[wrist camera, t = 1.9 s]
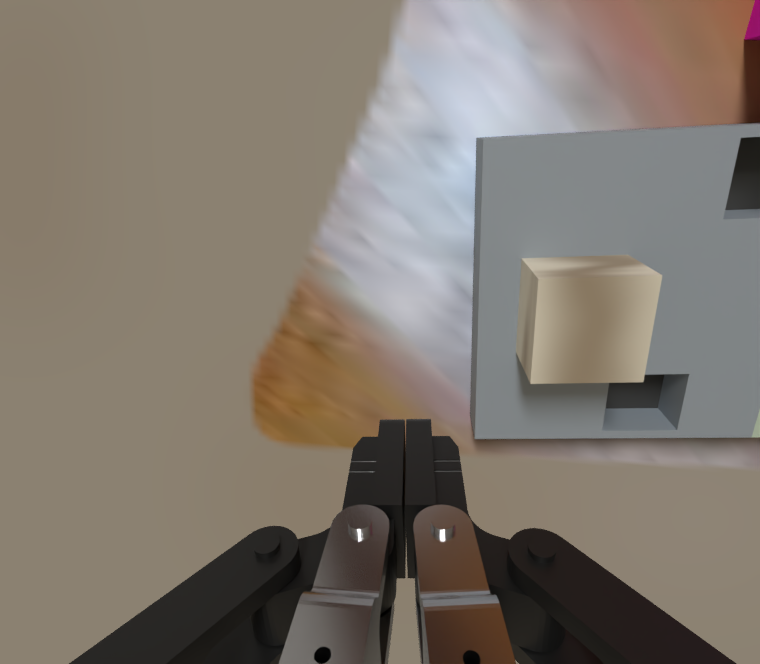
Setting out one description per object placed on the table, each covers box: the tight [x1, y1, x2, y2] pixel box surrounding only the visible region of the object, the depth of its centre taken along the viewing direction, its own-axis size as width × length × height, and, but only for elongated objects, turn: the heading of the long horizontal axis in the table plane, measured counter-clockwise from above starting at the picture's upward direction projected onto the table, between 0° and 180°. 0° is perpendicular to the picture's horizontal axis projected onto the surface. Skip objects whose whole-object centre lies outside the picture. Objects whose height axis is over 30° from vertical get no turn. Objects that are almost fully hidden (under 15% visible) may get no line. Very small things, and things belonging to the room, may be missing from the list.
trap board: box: [470, 123, 760, 439], centre depth 24 cm, size 22×16×4 cm
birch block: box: [516, 255, 663, 384], centre depth 23 cm, size 5×5×4 cm
